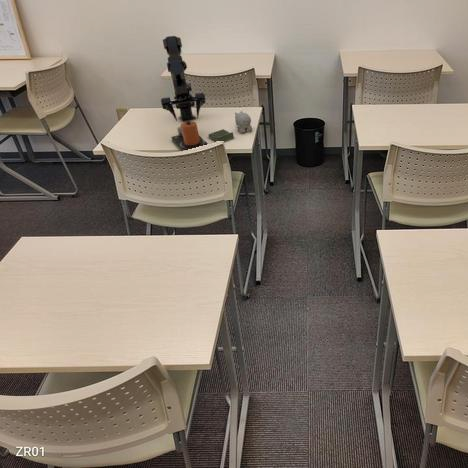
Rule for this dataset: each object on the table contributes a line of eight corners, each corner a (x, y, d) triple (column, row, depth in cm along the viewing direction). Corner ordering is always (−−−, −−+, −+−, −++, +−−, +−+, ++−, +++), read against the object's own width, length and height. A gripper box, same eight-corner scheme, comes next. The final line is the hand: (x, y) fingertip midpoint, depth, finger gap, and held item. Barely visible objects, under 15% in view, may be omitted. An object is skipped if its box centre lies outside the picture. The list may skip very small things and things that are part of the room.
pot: (183, 140, 213) (179, 120, 208) (199, 137, 215) (195, 117, 209) (185, 146, 208) (180, 126, 203) (200, 144, 210) (196, 123, 204)
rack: (208, 137, 220) (207, 131, 219) (223, 132, 224) (222, 126, 223) (218, 143, 215) (217, 137, 213) (233, 138, 219) (233, 132, 217)
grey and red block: (178, 136, 218) (177, 128, 216) (179, 134, 220) (178, 126, 217) (189, 136, 218) (187, 127, 215) (190, 134, 219) (188, 126, 217)
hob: (170, 139, 221) (169, 135, 220) (193, 133, 225) (192, 129, 224) (185, 155, 207) (184, 150, 206) (209, 148, 211) (208, 144, 210)
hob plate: (176, 142, 213) (176, 141, 213) (199, 136, 218) (199, 135, 217) (185, 150, 206) (184, 149, 206) (208, 144, 210) (208, 143, 210)
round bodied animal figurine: (245, 123, 233) (243, 106, 228) (254, 131, 224) (252, 114, 219) (231, 126, 230) (229, 109, 225) (239, 135, 221) (237, 117, 216)
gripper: (156, 80, 202) (163, 114, 200) (200, 74, 206) (208, 107, 204) (159, 92, 213) (166, 125, 211) (201, 86, 217) (208, 118, 215)
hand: (187, 119), depth 210 cm, fingers open, 9 cm apart
